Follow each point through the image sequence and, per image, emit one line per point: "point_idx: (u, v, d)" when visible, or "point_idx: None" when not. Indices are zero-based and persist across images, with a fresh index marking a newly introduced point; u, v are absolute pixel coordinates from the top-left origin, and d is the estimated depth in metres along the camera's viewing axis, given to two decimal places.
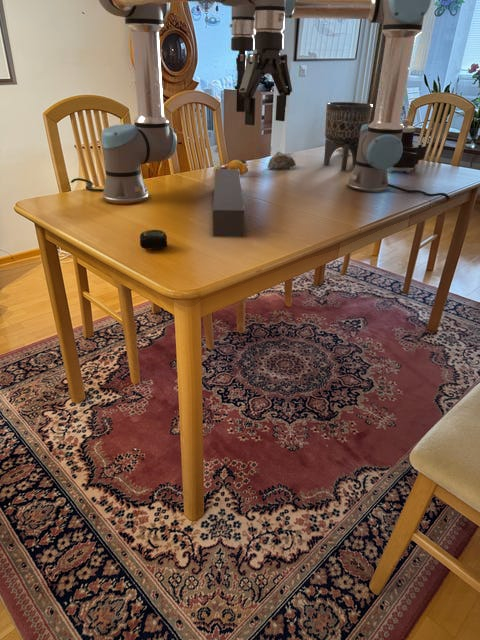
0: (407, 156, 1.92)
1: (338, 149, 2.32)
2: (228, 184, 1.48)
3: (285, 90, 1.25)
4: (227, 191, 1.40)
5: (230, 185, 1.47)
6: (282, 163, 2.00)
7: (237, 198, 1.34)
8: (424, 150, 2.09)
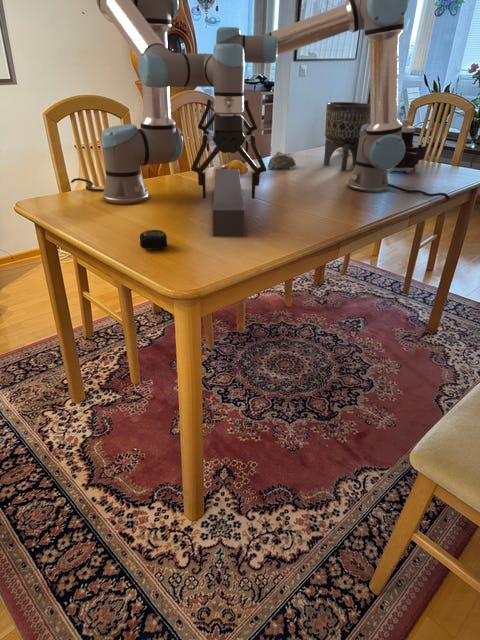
0: (407, 156, 1.92)
1: (338, 149, 2.32)
2: (228, 184, 1.48)
3: (254, 169, 1.22)
4: (227, 191, 1.40)
5: (230, 185, 1.47)
6: (282, 163, 2.00)
7: (237, 198, 1.34)
8: (424, 150, 2.09)
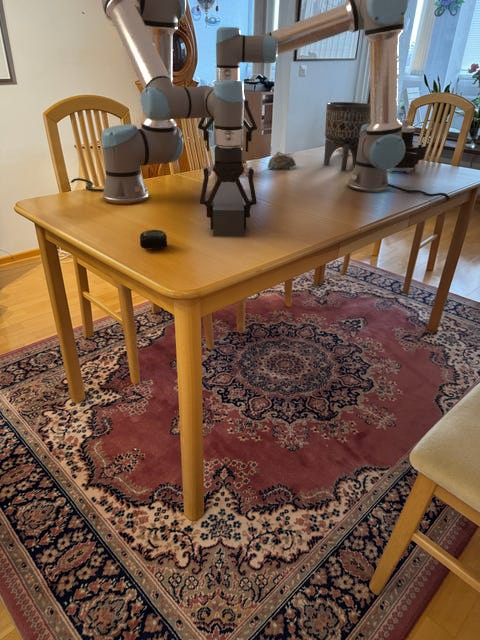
0: (407, 156, 1.92)
1: (338, 149, 2.32)
2: (228, 184, 1.48)
3: (246, 202, 1.26)
4: (227, 191, 1.40)
5: (230, 185, 1.47)
6: (282, 163, 2.00)
7: (237, 198, 1.34)
8: (424, 150, 2.09)
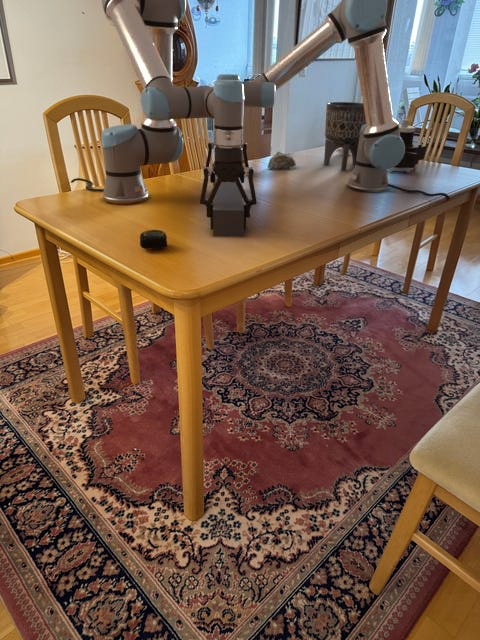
0: (407, 156, 1.92)
1: (338, 149, 2.32)
2: (228, 184, 1.48)
3: (246, 202, 1.26)
4: (227, 191, 1.40)
5: (230, 185, 1.47)
6: (282, 163, 2.00)
7: (237, 198, 1.34)
8: (424, 150, 2.09)
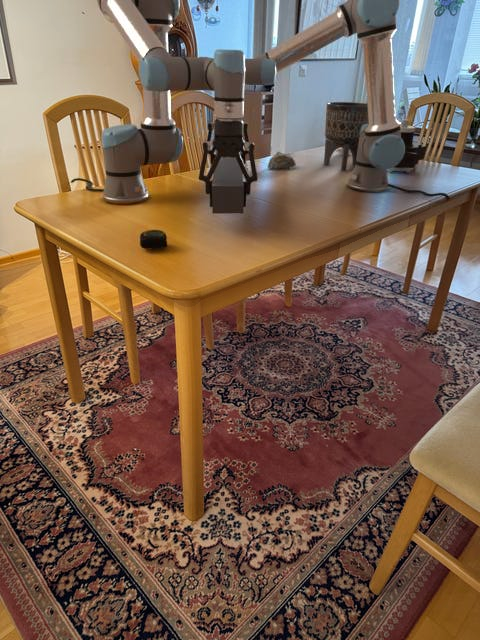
0: (407, 156, 1.92)
1: (338, 149, 2.32)
2: (228, 163, 1.45)
3: (246, 178, 1.23)
4: (227, 169, 1.37)
5: (230, 164, 1.44)
6: (282, 163, 2.00)
7: (237, 175, 1.30)
8: (424, 150, 2.09)
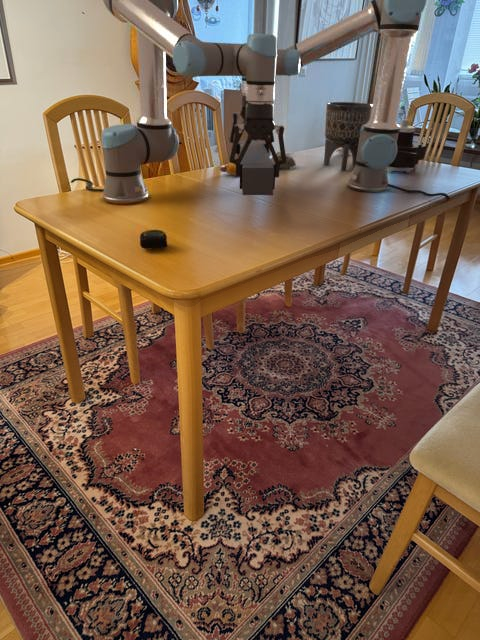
0: (407, 156, 1.92)
1: (338, 149, 2.32)
2: (254, 151, 1.49)
3: (275, 160, 1.27)
4: (254, 155, 1.41)
5: (256, 151, 1.48)
6: None
7: (265, 159, 1.34)
8: (424, 150, 2.09)
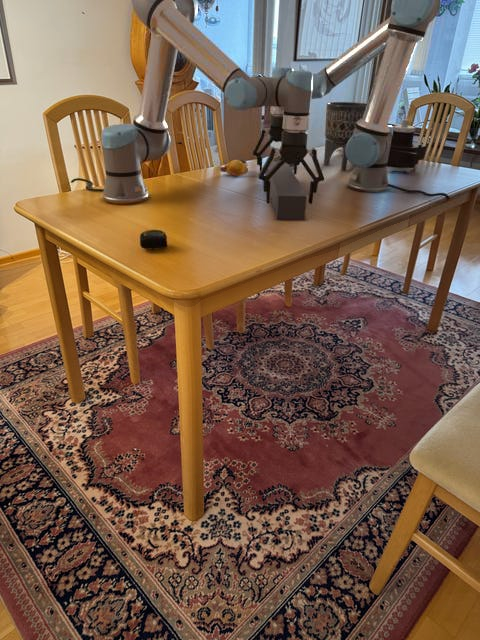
0: (407, 156, 1.92)
1: (338, 149, 2.32)
2: (283, 174, 1.61)
3: (314, 178, 1.39)
4: (284, 180, 1.54)
5: (285, 175, 1.60)
6: None
7: (296, 186, 1.47)
8: (424, 150, 2.09)
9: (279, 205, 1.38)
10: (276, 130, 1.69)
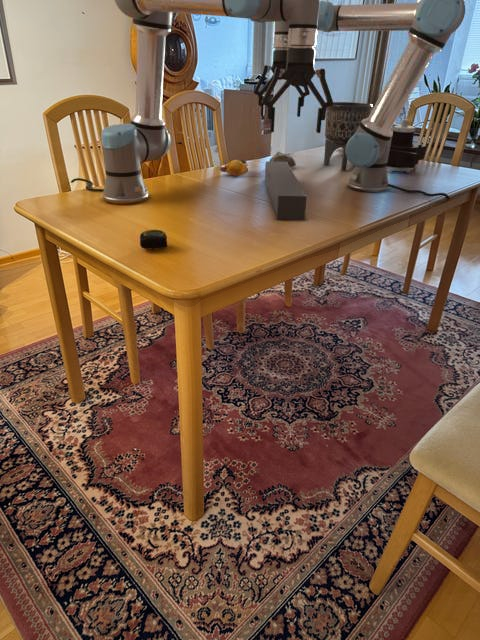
0: (407, 156, 1.92)
1: (338, 149, 2.32)
2: (283, 174, 1.61)
3: (322, 103, 1.28)
4: (284, 180, 1.54)
5: (285, 175, 1.60)
6: None
7: (296, 186, 1.47)
8: (424, 150, 2.09)
9: (279, 205, 1.38)
10: (279, 66, 1.59)
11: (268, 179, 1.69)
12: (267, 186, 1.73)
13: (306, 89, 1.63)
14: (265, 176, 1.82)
